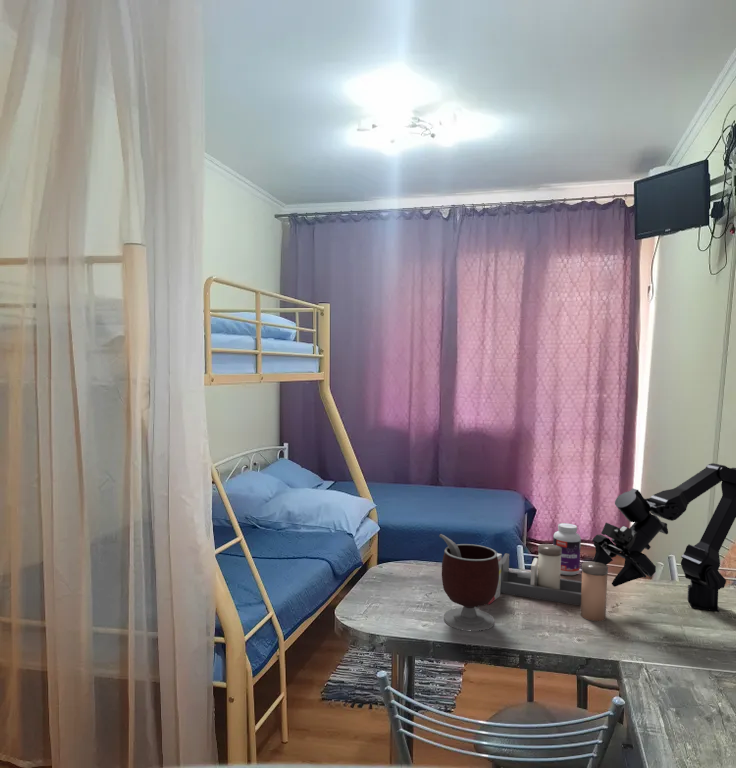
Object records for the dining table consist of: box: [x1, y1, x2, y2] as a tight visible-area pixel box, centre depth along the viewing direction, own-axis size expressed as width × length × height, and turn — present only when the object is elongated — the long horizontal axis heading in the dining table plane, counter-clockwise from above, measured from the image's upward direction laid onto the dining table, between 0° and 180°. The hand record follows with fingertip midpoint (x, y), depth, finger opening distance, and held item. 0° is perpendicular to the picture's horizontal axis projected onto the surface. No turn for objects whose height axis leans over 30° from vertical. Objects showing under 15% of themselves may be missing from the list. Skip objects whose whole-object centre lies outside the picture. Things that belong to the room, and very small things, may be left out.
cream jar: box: [537, 543, 562, 590], centre depth 170 cm, size 6×6×13 cm
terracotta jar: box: [580, 561, 609, 622], centre depth 155 cm, size 6×6×13 cm
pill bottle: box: [552, 522, 582, 576], centre depth 188 cm, size 8×8×14 cm
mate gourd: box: [439, 533, 499, 632], centre depth 151 cm, size 16×14×20 cm
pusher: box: [516, 557, 538, 586], centre depth 172 cm, size 5×7×8 cm
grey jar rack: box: [500, 553, 582, 607], centre depth 170 cm, size 25×10×8 cm, turn 68°
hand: (601, 578), depth 155 cm, fingers open, 9 cm apart
